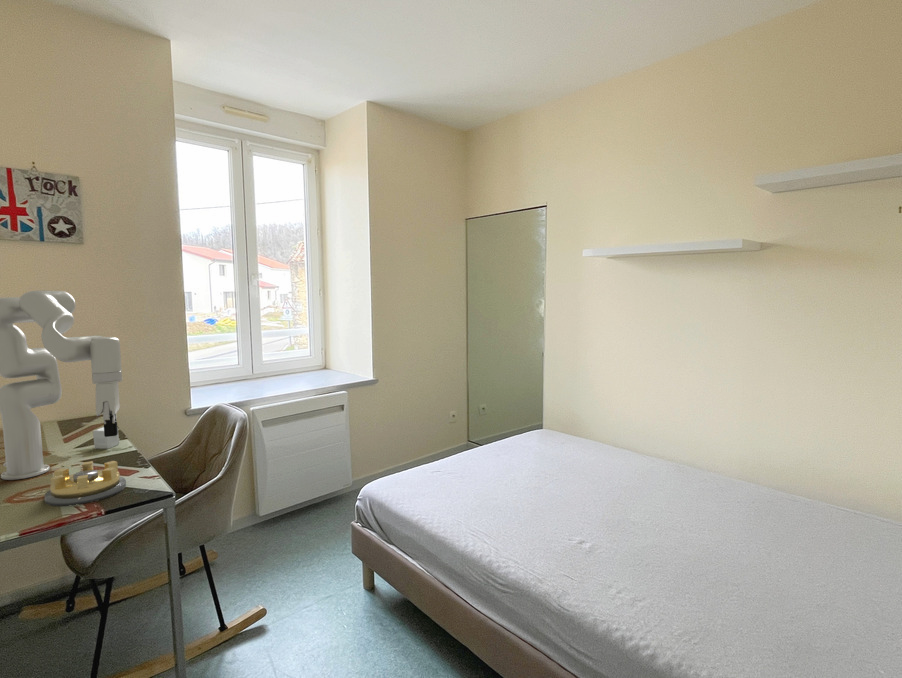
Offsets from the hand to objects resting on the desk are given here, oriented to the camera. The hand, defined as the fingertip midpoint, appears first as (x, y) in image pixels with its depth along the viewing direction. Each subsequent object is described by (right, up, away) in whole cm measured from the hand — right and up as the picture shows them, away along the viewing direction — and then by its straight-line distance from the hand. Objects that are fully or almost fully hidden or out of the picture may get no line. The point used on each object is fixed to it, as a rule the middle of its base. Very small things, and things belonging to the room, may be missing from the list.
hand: (111, 435), depth 152 cm
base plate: (-6, -17, -2) cm, 18 cm away
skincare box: (-33, -14, +46) cm, 58 cm away
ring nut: (-6, -15, -2) cm, 17 cm away
